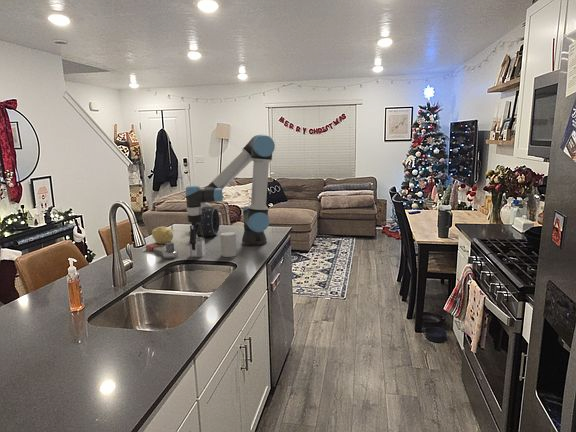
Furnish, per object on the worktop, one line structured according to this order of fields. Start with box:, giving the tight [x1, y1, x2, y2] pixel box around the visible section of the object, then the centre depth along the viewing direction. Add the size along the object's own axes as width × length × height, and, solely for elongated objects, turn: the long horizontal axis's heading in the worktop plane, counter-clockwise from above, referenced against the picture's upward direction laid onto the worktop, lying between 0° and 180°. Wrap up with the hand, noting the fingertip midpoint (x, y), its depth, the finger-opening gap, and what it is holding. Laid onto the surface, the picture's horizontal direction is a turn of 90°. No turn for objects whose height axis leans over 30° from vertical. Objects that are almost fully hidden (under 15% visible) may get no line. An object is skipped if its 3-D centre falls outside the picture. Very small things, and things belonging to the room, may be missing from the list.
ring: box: [201, 205, 221, 237], centre depth 257 cm, size 11×20×20 cm, turn 174°
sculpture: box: [151, 225, 174, 245], centre depth 245 cm, size 11×12×11 cm
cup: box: [220, 231, 238, 258], centre depth 212 cm, size 8×8×12 cm
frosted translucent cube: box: [188, 237, 206, 258], centre depth 214 cm, size 7×7×9 cm
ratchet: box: [145, 241, 179, 260], centre depth 220 cm, size 30×8×8 cm, turn 45°
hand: (197, 251), depth 215 cm, fingers open, 13 cm apart
